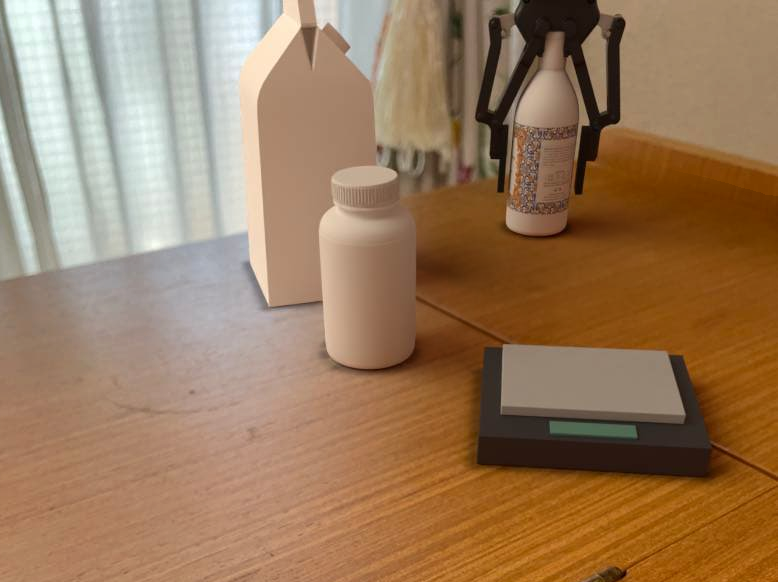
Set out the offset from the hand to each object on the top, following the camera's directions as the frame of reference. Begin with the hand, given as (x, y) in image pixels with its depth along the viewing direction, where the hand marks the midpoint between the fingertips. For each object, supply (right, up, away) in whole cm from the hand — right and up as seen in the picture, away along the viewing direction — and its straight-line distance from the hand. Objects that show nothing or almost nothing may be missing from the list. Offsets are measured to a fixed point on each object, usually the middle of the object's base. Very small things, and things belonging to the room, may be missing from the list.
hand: (539, 189), depth 98 cm
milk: (-25, -12, -8) cm, 29 cm away
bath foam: (0, -3, +3) cm, 4 cm away
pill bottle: (-19, -23, -21) cm, 37 cm away
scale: (-2, -30, -31) cm, 43 cm away
